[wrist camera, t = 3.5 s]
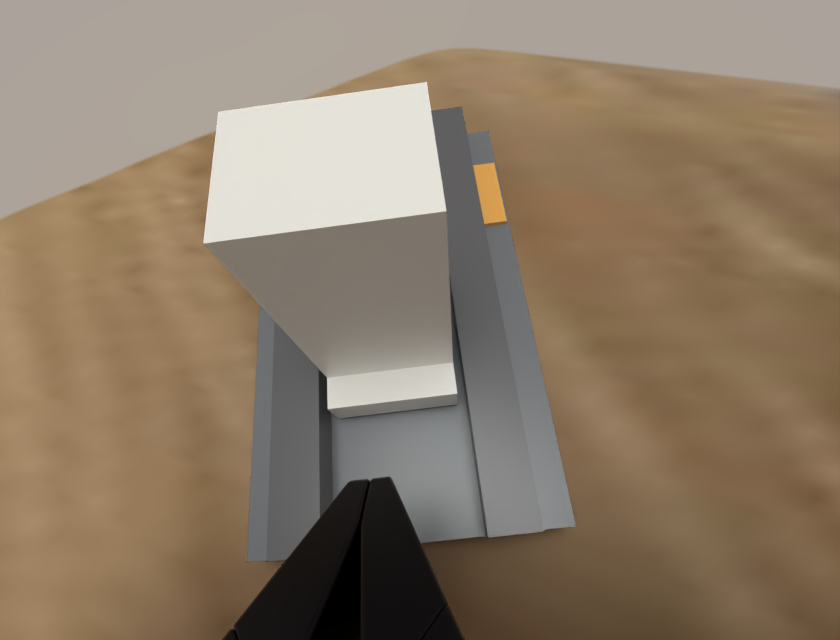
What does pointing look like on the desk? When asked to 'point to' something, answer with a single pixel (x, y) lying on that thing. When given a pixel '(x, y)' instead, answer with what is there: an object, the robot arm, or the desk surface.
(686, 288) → the desk surface
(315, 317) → the switch tab
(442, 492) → the switch base
